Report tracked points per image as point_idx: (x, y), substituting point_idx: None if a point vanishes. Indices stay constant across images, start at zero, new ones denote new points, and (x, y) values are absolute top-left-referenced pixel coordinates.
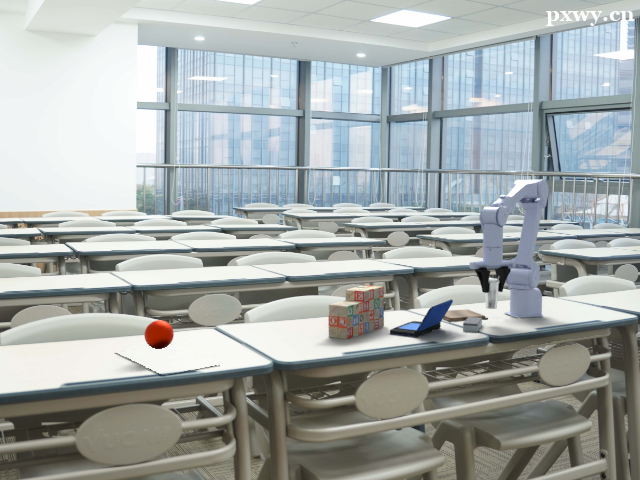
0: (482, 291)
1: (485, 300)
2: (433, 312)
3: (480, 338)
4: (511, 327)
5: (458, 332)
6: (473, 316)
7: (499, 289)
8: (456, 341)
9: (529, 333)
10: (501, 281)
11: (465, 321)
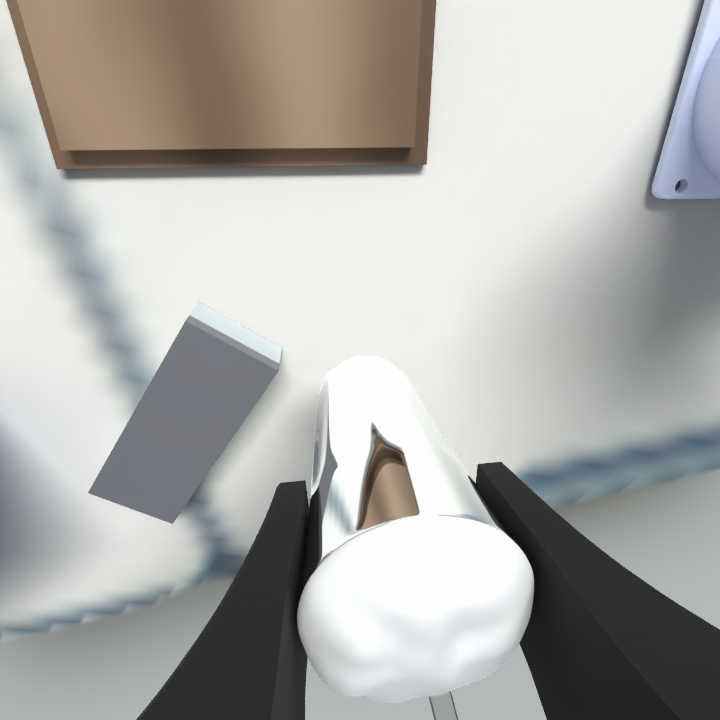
0: (275, 492)
1: (325, 406)
2: None
3: (155, 594)
4: None
5: (71, 488)
6: (303, 143)
7: None
8: (27, 621)
9: None
10: (527, 646)
11: (116, 456)
